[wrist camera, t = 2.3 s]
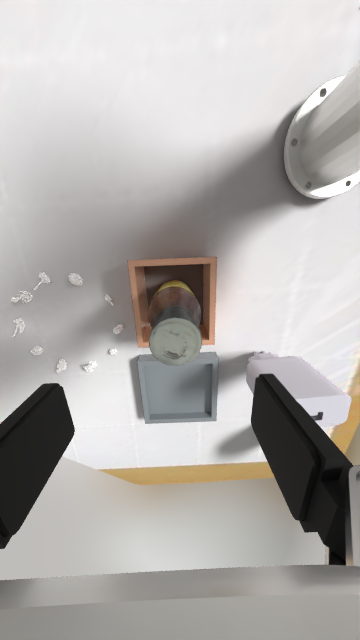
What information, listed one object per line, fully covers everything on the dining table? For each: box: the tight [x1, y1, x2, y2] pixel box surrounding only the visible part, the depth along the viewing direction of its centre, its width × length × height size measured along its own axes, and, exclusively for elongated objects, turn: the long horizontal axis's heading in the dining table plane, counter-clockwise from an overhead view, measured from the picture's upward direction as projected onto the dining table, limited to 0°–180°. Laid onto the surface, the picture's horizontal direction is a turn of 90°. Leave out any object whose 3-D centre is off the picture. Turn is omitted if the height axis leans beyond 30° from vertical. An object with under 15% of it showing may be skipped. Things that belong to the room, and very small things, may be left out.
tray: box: [137, 352, 218, 424], centre depth 37 cm, size 15×15×2 cm
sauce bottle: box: [148, 280, 202, 366], centre depth 23 cm, size 7×6×20 cm
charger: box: [246, 351, 351, 427], centre depth 29 cm, size 5×9×15 cm, turn 97°
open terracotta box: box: [127, 257, 217, 348], centre depth 29 cm, size 12×13×7 cm
